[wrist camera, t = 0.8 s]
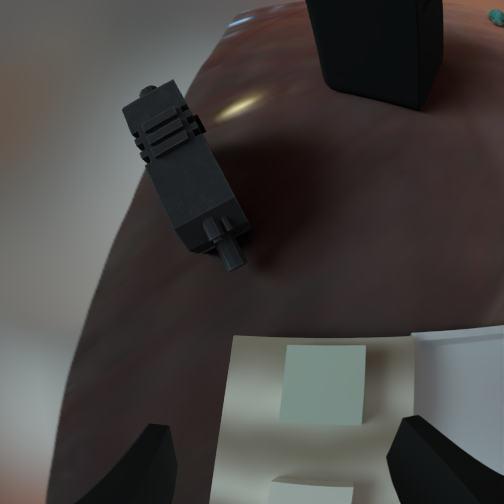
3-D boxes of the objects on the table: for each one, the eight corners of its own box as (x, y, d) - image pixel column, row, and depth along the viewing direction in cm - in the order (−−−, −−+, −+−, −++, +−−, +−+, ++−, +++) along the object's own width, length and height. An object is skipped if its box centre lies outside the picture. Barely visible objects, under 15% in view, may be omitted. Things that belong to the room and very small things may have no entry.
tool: (202, 125, 40) (168, 60, 25) (270, 256, 38) (267, 247, 23) (161, 147, 40) (110, 93, 25) (224, 280, 38) (192, 285, 23)
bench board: (386, 539, 15) (391, 554, 12) (222, 523, 19) (205, 534, 16) (406, 347, 22) (414, 336, 19) (247, 346, 26) (233, 335, 24)
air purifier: (366, 42, 47) (348, -55, 30) (443, 58, 39) (438, -48, 23) (319, 93, 41) (285, -36, 25) (418, 117, 34) (412, -34, 18)
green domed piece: (507, 24, 43) (508, 11, 40) (507, 31, 41) (508, 18, 38) (487, 16, 46) (488, 4, 43) (486, 23, 44) (486, 10, 41)
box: (518, 518, 11) (531, 524, 9) (385, 544, 14) (388, 555, 12) (529, 329, 19) (542, 319, 17) (406, 341, 23) (411, 332, 21)
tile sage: (360, 424, 18) (361, 425, 16) (284, 421, 19) (278, 421, 18) (364, 352, 20) (365, 345, 18) (292, 351, 22) (286, 344, 20)
